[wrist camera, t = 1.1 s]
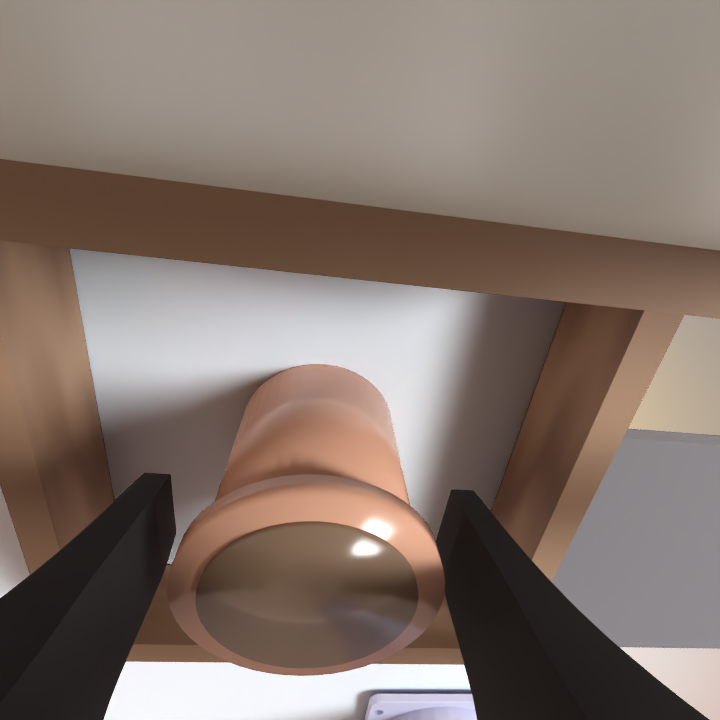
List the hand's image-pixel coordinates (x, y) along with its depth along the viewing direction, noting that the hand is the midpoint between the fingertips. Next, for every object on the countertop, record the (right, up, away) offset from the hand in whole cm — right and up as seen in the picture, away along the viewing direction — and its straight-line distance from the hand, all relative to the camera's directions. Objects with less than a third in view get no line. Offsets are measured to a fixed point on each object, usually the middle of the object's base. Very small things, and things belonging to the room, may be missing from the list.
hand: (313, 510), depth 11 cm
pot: (0, +2, +3) cm, 4 cm away
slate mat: (+15, -4, +7) cm, 17 cm away
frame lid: (+2, +4, -14) cm, 14 cm away
